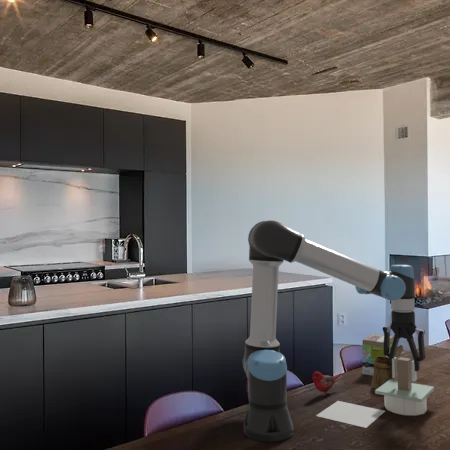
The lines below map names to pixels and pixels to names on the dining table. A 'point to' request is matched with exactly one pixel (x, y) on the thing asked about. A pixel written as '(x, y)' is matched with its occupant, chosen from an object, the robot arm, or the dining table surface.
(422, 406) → the bowl
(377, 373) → the wooden mug
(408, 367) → the lid
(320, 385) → the decorative bird figurine
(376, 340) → the tea box
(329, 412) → the mat
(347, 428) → the dining table surface
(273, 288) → the robot arm
